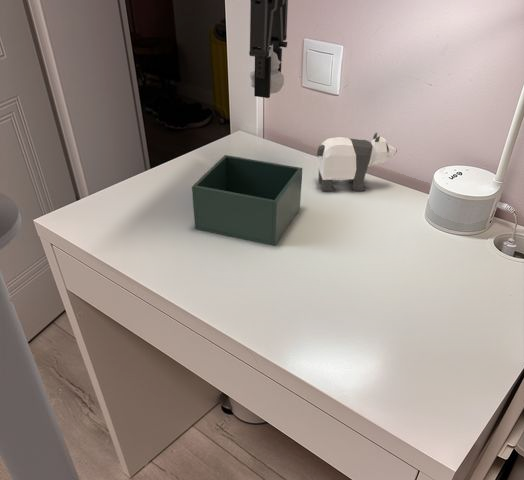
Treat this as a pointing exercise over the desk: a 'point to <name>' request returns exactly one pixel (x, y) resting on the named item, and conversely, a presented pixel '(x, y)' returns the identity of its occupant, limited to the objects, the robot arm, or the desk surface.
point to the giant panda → (350, 160)
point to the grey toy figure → (272, 74)
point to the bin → (247, 199)
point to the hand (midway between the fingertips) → (267, 91)
